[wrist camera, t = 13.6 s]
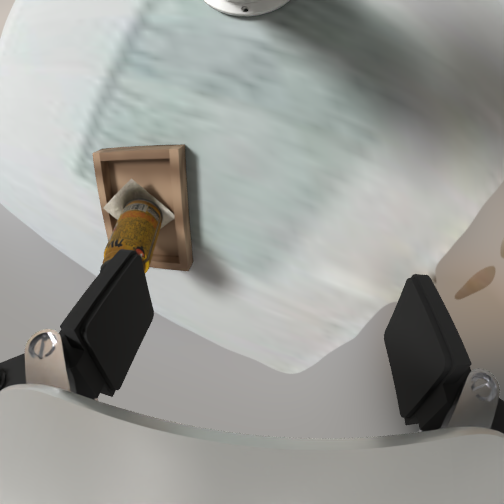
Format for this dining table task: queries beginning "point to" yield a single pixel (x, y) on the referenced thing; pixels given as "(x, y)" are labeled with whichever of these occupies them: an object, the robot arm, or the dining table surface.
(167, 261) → the serving tray
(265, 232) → the dining table surface
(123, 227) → the condiment
